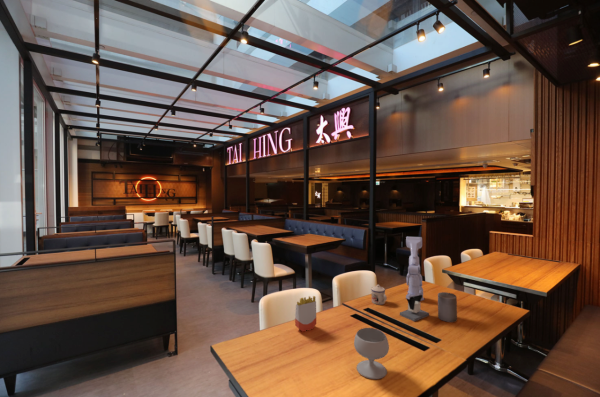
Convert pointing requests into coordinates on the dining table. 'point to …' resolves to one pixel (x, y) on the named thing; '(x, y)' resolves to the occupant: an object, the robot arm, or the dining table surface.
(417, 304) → the cube
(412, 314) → the serving board
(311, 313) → the french fries container
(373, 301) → the teacup with lid
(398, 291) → the dining table surface
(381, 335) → the chalice
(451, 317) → the pillar candle
